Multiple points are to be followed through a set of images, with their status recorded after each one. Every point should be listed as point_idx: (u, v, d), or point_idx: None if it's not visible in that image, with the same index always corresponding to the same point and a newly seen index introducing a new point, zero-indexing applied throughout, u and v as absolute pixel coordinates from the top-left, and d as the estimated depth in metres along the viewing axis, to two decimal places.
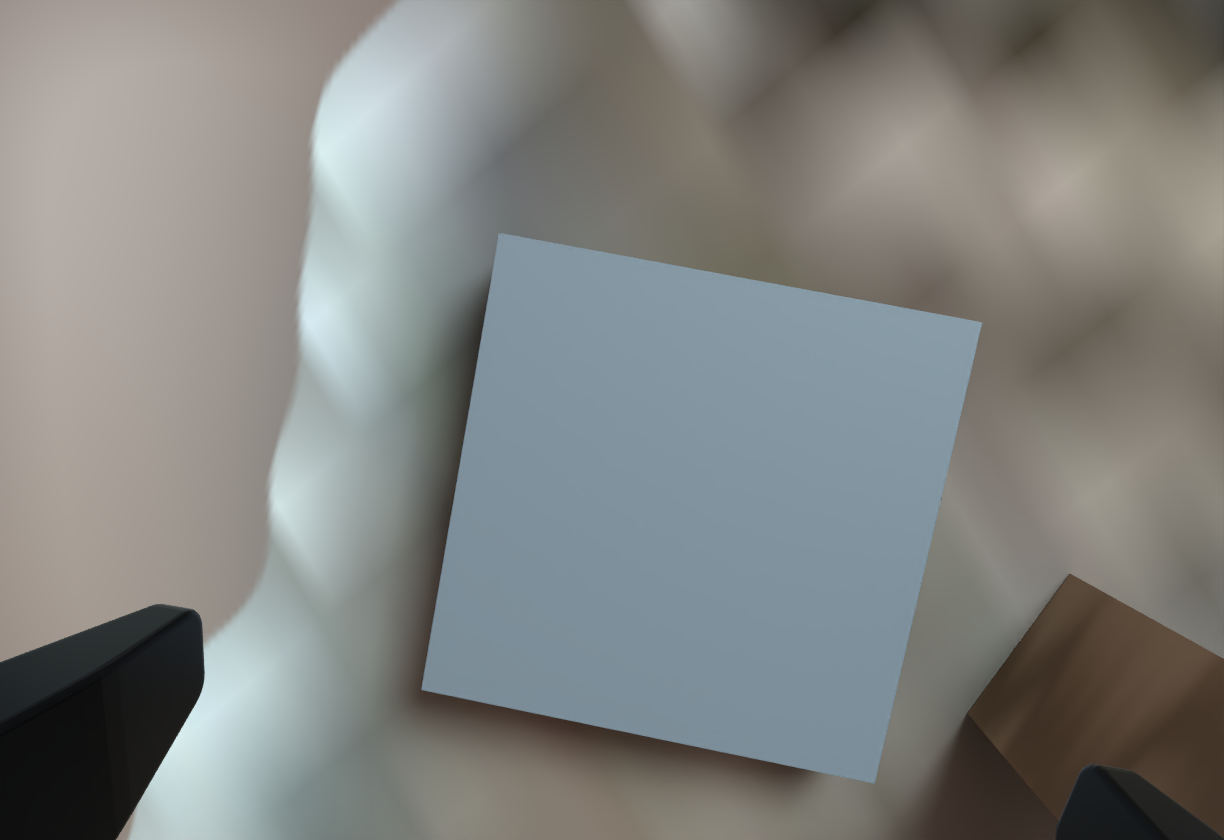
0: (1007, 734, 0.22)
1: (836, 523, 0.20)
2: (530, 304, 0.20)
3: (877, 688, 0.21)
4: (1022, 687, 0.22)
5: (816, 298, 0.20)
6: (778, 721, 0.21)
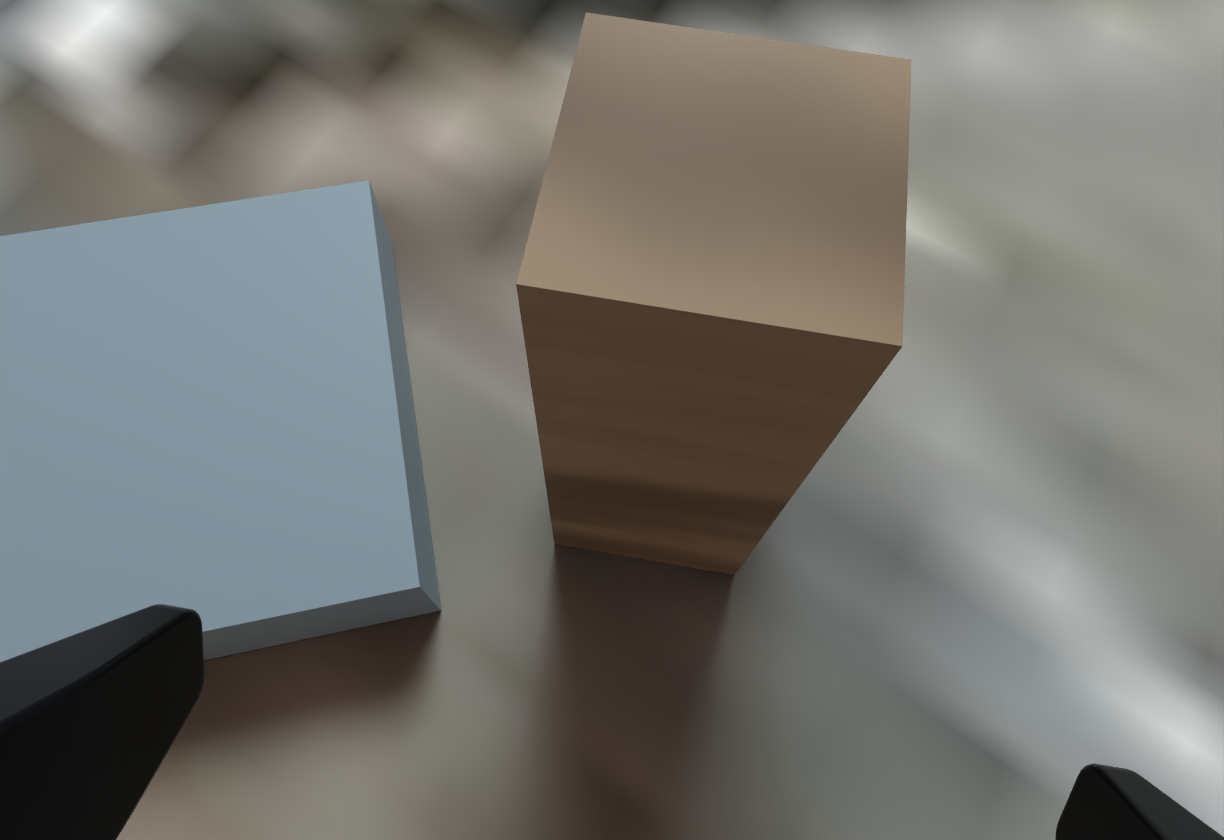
0: None
1: (297, 361, 0.21)
2: None
3: (387, 490, 0.20)
4: None
5: (225, 206, 0.23)
6: (296, 563, 0.19)
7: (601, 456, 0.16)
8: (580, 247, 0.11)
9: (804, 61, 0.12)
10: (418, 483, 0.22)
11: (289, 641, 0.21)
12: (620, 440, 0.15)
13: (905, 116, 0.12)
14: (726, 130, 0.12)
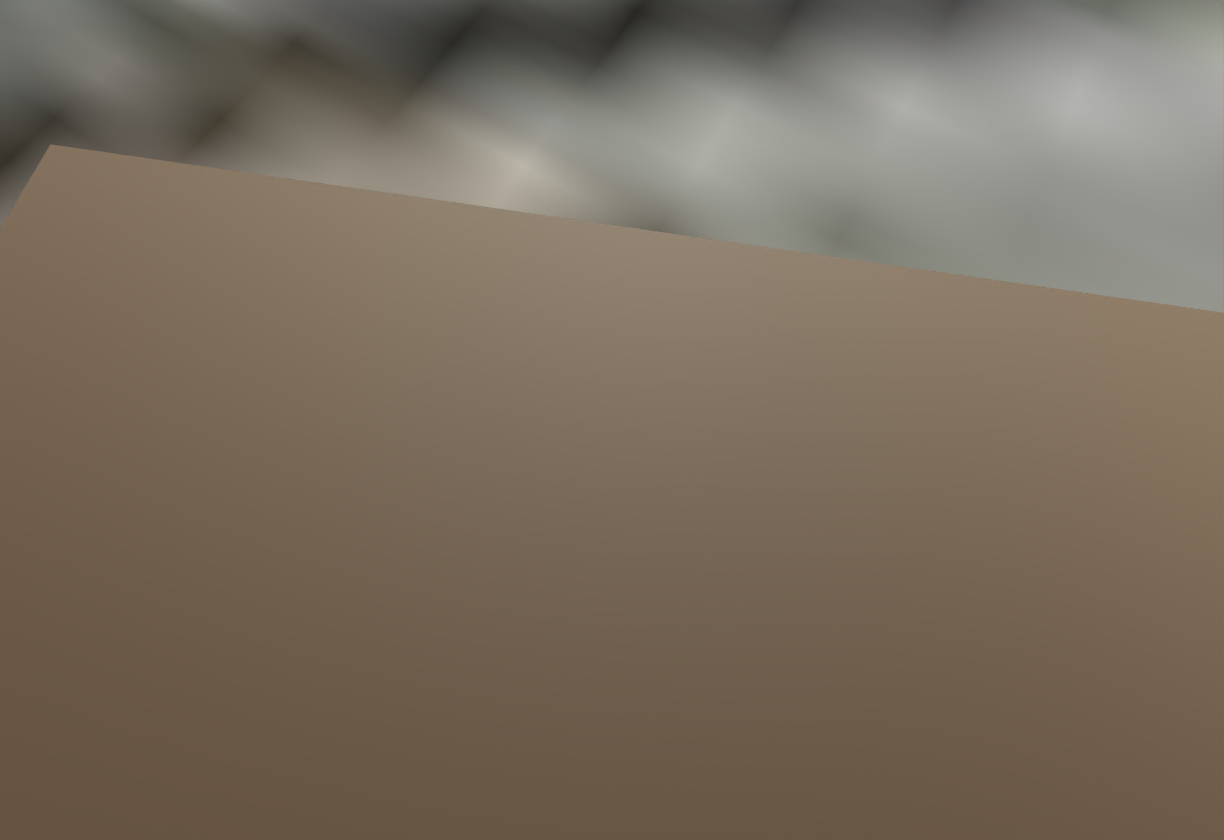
0: None
1: None
2: None
3: None
4: None
5: None
6: None
7: None
8: None
9: (971, 363, 0.03)
10: None
11: None
12: None
13: None
14: (596, 824, 0.02)
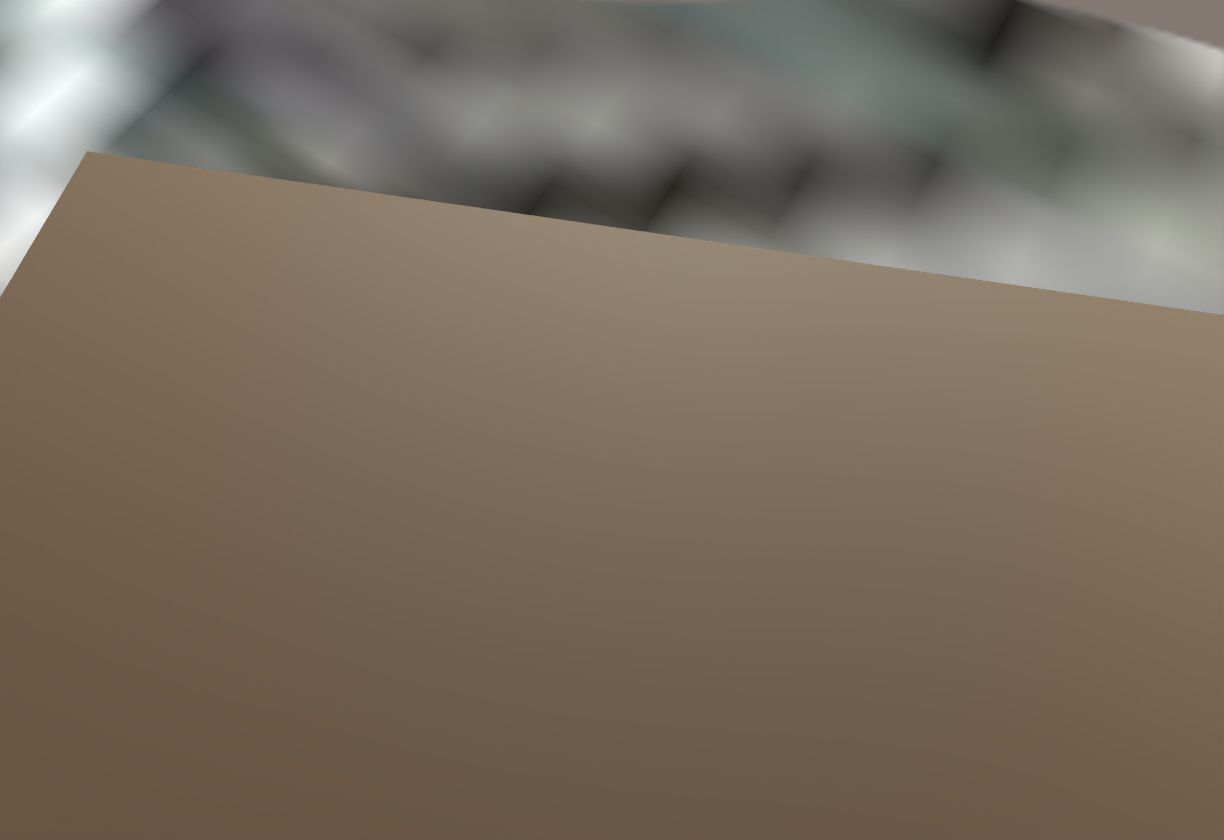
0: None
1: None
2: None
3: None
4: None
5: None
6: None
7: None
8: None
9: (970, 364, 0.03)
10: None
11: None
12: None
13: None
14: (597, 799, 0.02)
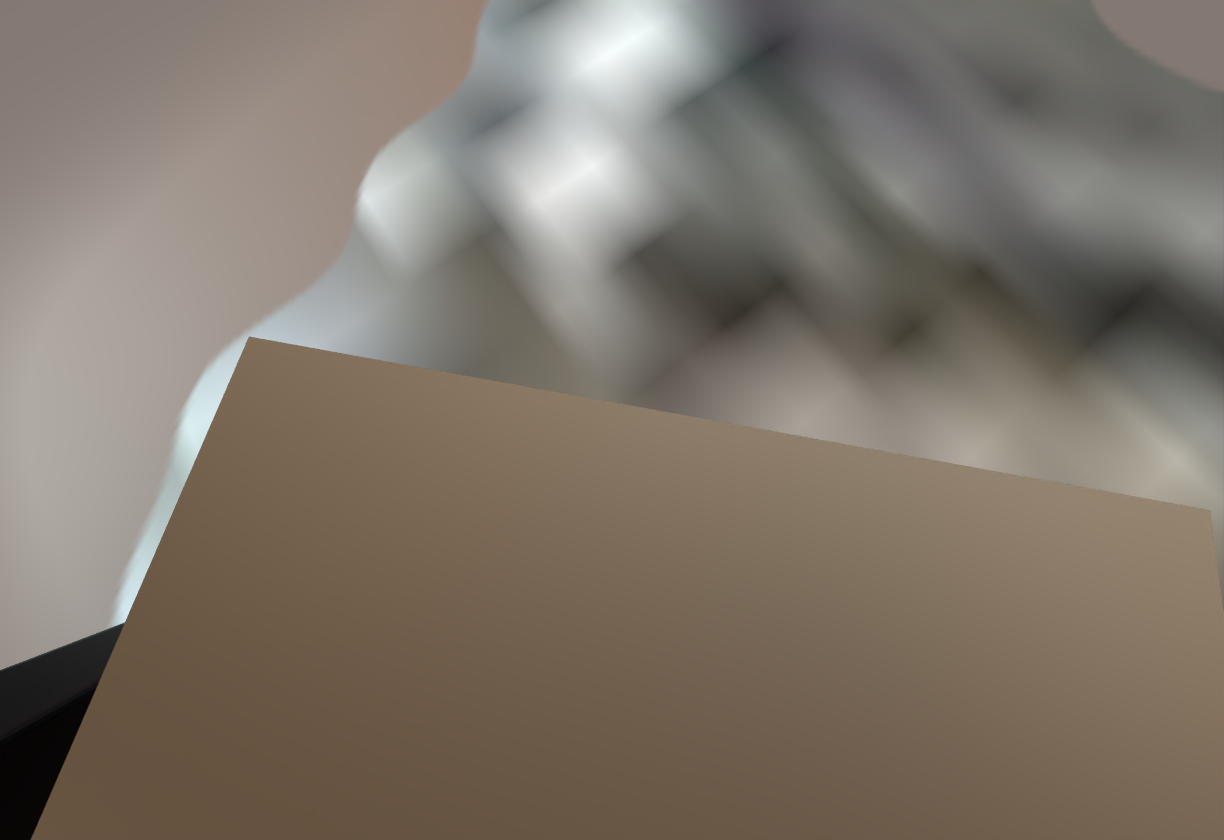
0: None
1: None
2: None
3: None
4: None
5: None
6: None
7: None
8: None
9: (888, 519, 0.04)
10: None
11: None
12: None
13: None
14: (631, 826, 0.03)
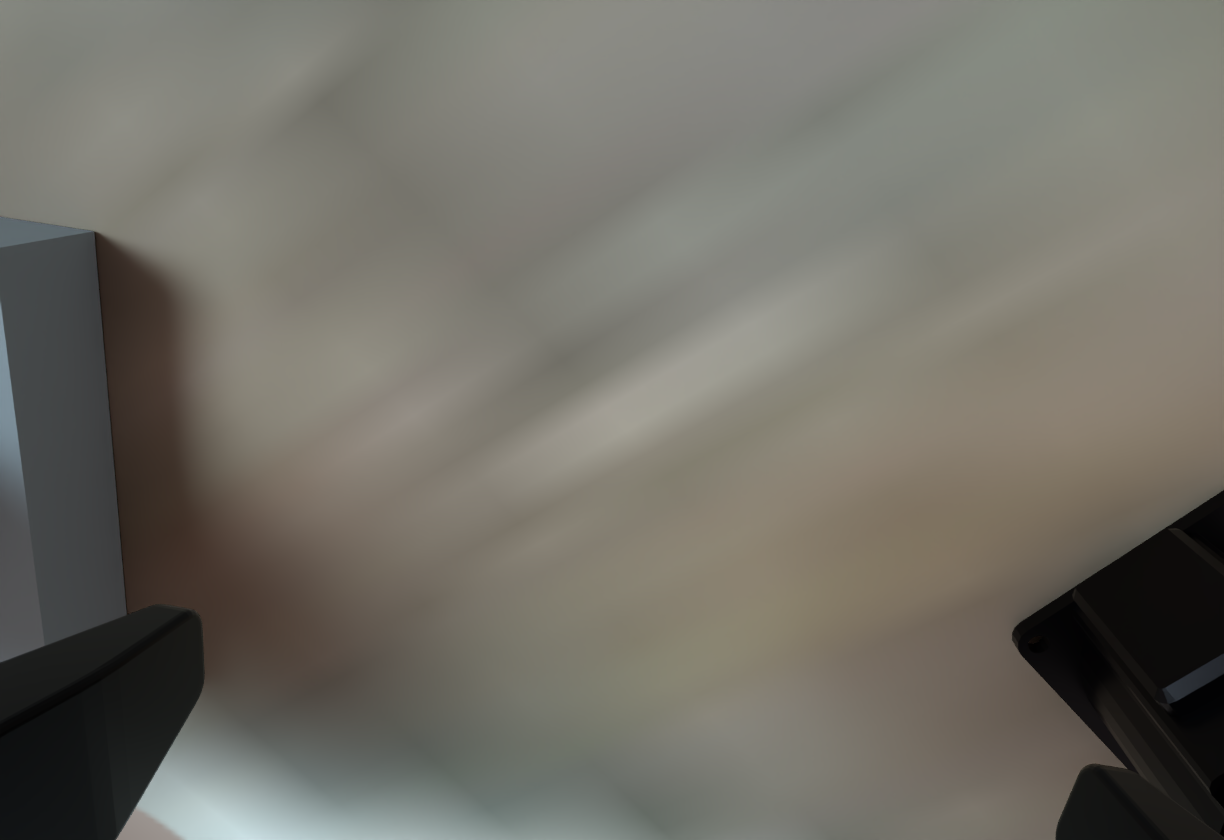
0: None
1: None
2: None
3: None
4: None
5: None
6: None
7: None
8: None
9: None
10: None
11: (104, 386, 0.21)
12: None
13: None
14: None
